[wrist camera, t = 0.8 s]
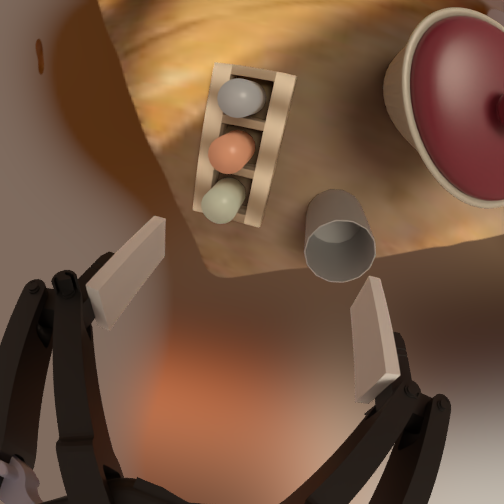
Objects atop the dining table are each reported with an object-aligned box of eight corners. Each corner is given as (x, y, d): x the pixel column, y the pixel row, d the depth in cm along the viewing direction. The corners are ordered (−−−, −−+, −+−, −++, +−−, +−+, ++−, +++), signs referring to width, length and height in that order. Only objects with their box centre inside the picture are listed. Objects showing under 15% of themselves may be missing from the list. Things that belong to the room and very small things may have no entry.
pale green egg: (216, 174, 35) (203, 186, 31) (248, 181, 35) (239, 194, 31) (212, 203, 38) (199, 218, 34) (242, 211, 38) (233, 227, 33)
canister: (423, 17, 19) (510, -25, 2) (492, 122, 24) (592, 166, 7) (333, 80, 28) (365, 58, 11) (413, 185, 33) (486, 273, 16)
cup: (365, 191, 35) (381, 222, 27) (359, 242, 40) (369, 283, 31) (306, 188, 37) (305, 218, 29) (305, 239, 41) (302, 280, 33)
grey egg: (233, 78, 28) (221, 75, 24) (269, 84, 28) (262, 82, 24) (227, 111, 31) (214, 114, 26) (262, 118, 30) (254, 121, 26)
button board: (221, 64, 30) (214, 62, 27) (297, 77, 29) (296, 75, 27) (199, 202, 41) (192, 210, 39) (263, 218, 41) (259, 227, 38)
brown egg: (224, 126, 32) (211, 132, 28) (258, 134, 31) (250, 140, 27) (218, 159, 34) (205, 169, 30) (251, 166, 34) (242, 177, 30)
